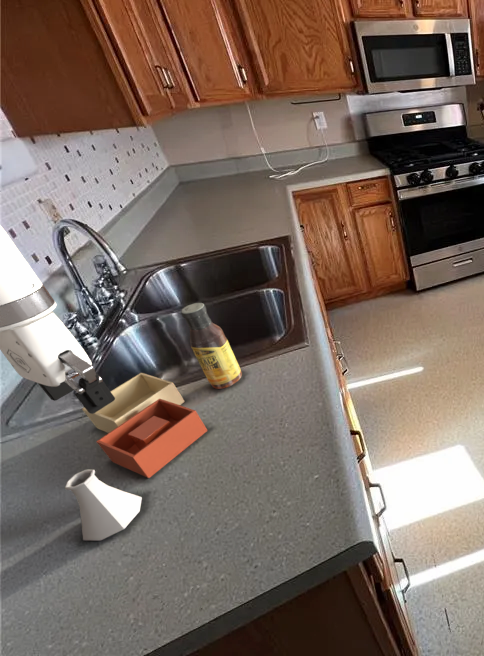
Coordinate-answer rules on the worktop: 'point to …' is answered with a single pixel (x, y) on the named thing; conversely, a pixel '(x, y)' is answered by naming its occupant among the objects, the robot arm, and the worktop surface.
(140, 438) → the terracotta block
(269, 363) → the worktop surface
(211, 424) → the worktop surface
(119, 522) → the flask
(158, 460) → the terracotta bin
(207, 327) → the sauce bottle
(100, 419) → the cream bin
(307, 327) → the worktop surface
